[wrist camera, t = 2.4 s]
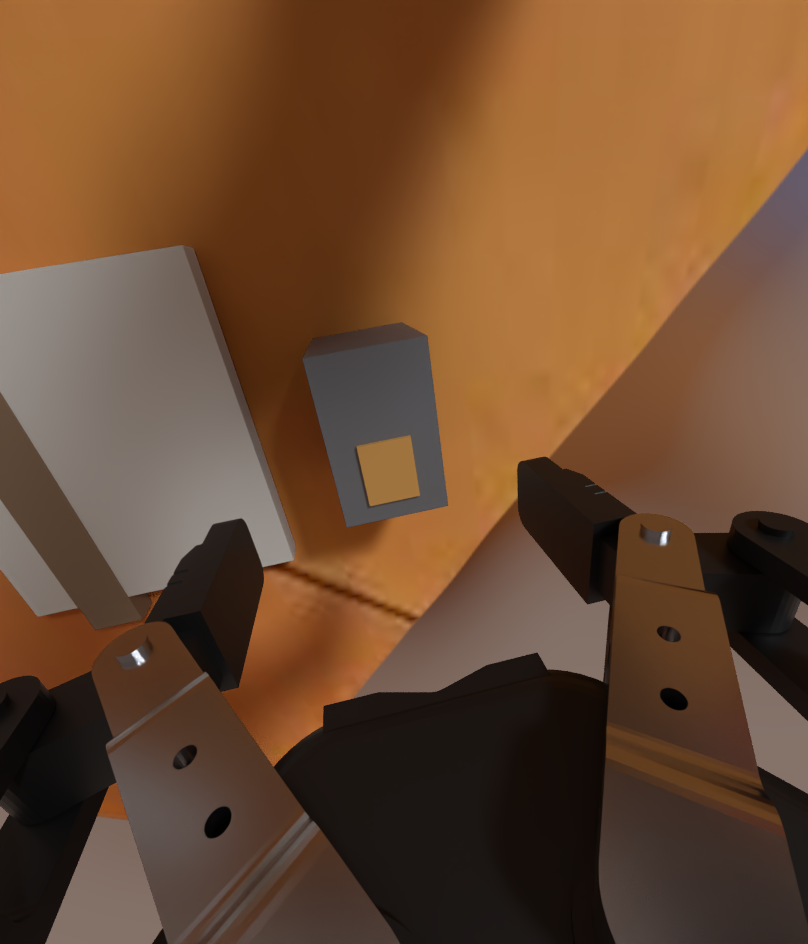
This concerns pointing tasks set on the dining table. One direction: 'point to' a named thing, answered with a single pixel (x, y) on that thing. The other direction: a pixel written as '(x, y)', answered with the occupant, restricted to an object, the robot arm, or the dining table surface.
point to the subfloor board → (121, 434)
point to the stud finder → (378, 421)
